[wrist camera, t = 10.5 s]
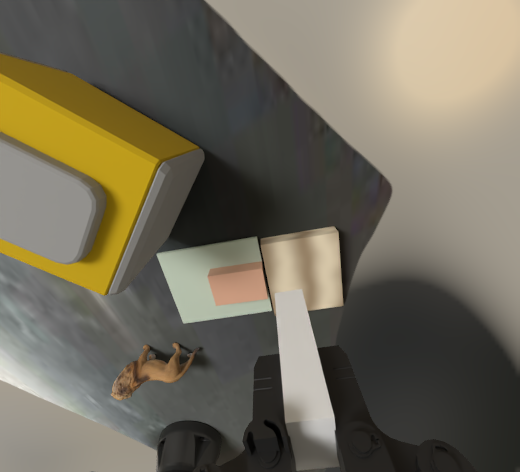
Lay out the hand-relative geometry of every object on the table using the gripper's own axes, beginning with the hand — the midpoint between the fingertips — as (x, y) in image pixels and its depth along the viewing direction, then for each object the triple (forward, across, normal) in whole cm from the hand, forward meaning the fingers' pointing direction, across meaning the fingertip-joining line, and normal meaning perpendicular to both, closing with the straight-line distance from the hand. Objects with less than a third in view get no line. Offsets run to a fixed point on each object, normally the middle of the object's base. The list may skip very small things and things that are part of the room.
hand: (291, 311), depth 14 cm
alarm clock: (+27, -20, +8) cm, 34 cm away
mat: (+27, -12, -14) cm, 32 cm away
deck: (+27, +3, -14) cm, 30 cm away
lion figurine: (+27, -27, -28) cm, 48 cm away
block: (+26, -8, -14) cm, 31 cm away
